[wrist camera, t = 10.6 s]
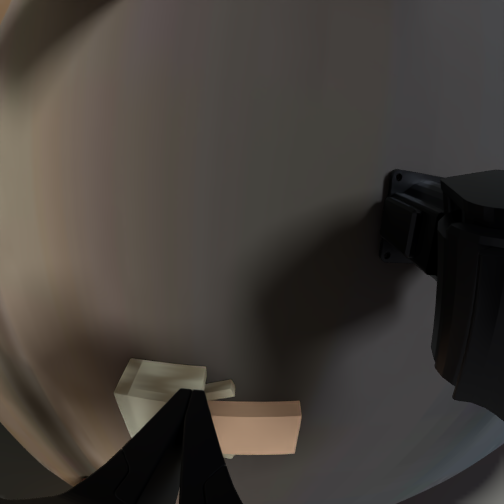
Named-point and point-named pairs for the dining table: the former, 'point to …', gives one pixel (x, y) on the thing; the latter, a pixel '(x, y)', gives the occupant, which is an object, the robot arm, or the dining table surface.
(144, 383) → the grey-green flat pronged block
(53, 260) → the dining table surface
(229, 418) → the terracotta tile
